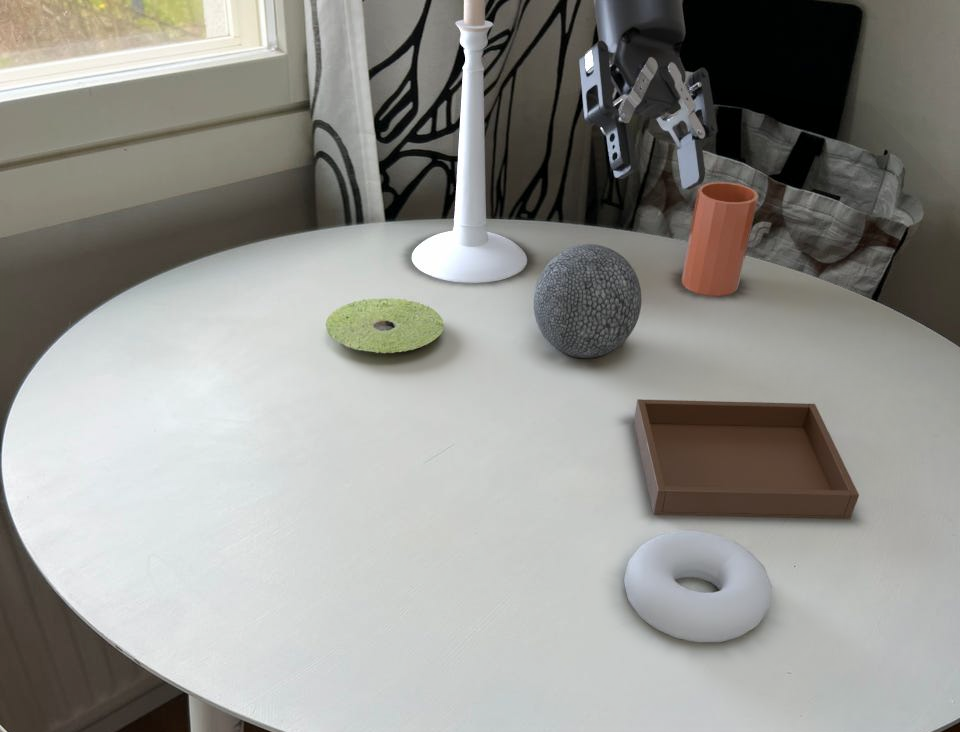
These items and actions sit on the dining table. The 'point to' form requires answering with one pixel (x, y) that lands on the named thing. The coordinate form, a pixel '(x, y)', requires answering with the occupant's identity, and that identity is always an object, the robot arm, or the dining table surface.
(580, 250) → the decorative ball
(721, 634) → the donut
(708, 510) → the tray
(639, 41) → the robot arm
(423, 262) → the candlestick
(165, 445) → the dining table surface
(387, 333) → the green disc
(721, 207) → the cup
